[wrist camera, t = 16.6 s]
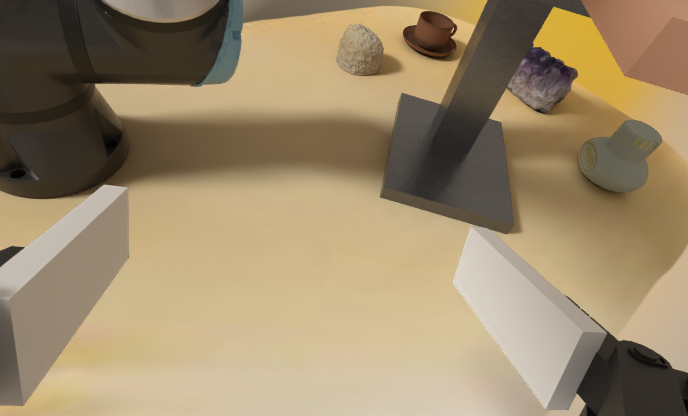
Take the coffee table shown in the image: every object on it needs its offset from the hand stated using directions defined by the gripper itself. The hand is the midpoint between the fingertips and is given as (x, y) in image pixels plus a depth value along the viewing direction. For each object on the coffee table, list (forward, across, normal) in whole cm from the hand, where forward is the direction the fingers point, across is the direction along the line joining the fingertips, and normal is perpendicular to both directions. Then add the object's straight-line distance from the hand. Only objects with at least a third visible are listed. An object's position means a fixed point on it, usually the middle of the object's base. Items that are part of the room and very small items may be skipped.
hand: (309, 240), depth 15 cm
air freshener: (+44, +54, -4) cm, 69 cm away
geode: (+67, +48, +8) cm, 83 cm away
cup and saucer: (+76, +30, +12) cm, 83 cm away
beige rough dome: (+66, +13, +6) cm, 67 cm away
